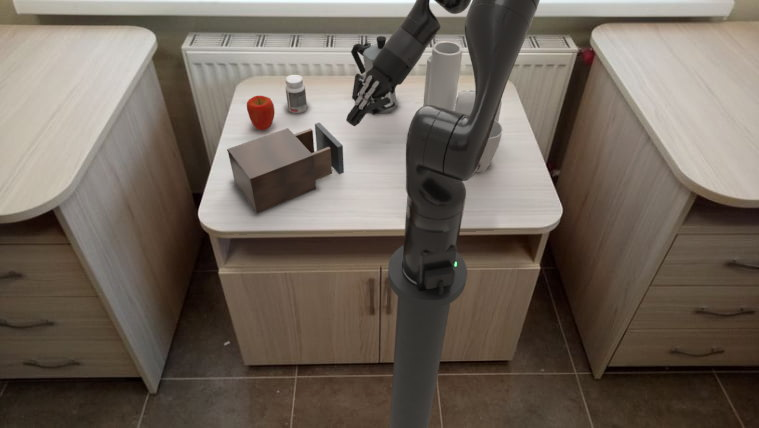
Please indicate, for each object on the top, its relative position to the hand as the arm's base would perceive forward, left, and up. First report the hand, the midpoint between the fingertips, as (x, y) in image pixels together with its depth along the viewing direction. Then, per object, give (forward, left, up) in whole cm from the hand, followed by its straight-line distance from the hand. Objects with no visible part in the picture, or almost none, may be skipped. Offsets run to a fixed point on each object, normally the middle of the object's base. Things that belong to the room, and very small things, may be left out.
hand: (350, 123), depth 116 cm
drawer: (-4, +10, -8) cm, 13 cm away
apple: (+16, +18, -9) cm, 26 cm away
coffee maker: (+20, -11, -9) cm, 25 cm away
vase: (+10, -24, -9) cm, 27 cm away
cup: (-9, -27, -9) cm, 30 cm away
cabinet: (-6, +18, -9) cm, 21 cm away
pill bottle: (+22, +9, -9) cm, 26 cm away
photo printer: (+1, -30, -9) cm, 31 cm away
